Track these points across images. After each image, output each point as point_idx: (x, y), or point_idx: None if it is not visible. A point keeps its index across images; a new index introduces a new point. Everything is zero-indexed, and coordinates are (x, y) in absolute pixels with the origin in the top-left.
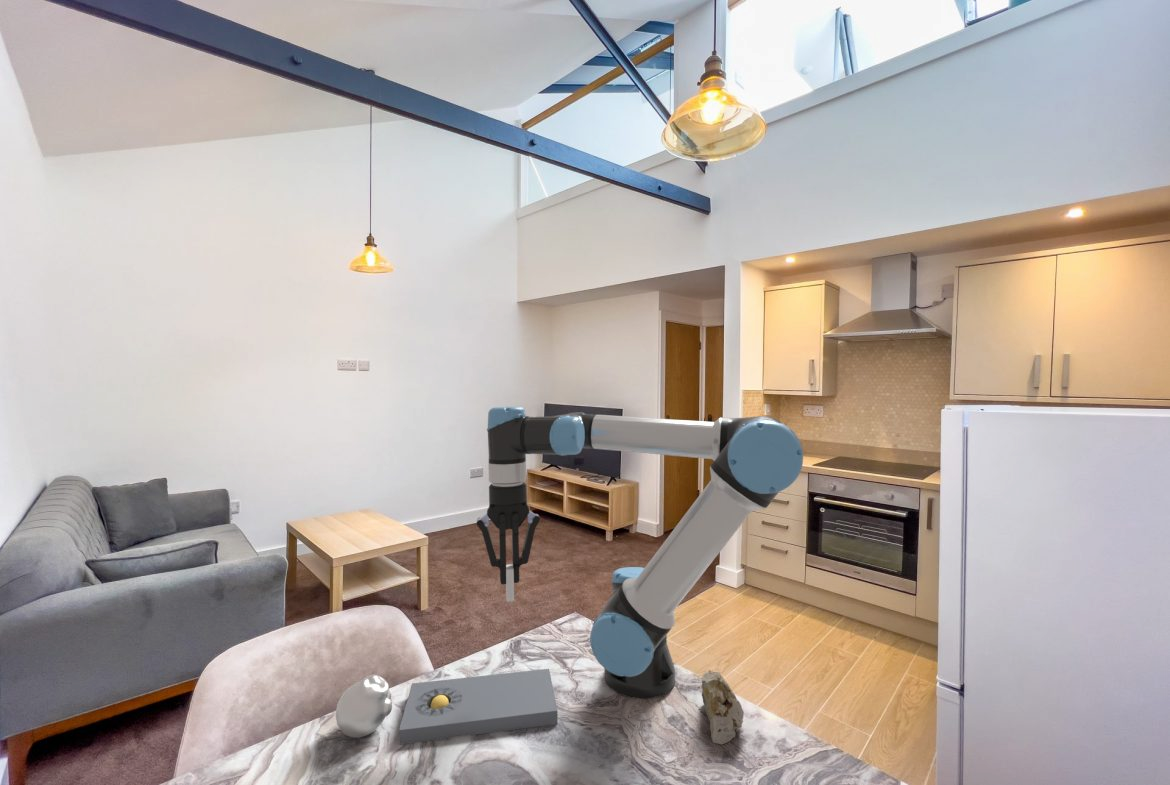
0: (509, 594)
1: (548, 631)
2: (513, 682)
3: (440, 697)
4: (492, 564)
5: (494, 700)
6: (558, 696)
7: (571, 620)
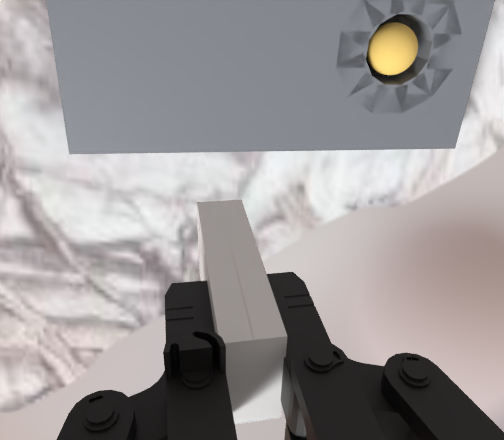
0: (230, 221)
1: (81, 360)
2: (184, 100)
3: (400, 48)
4: (425, 370)
5: (245, 17)
6: (43, 55)
7: (13, 403)
